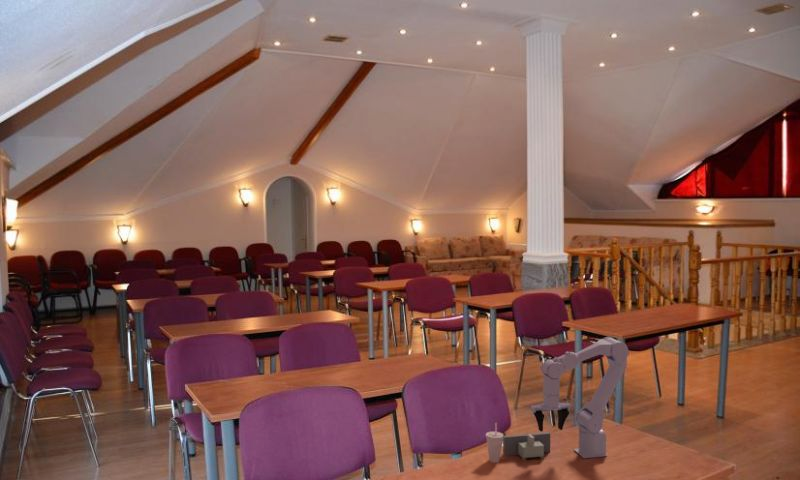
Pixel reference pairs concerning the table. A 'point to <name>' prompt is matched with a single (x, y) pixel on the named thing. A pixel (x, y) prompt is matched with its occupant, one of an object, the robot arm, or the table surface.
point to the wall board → (512, 441)
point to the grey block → (530, 448)
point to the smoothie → (494, 445)
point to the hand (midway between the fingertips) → (550, 429)
